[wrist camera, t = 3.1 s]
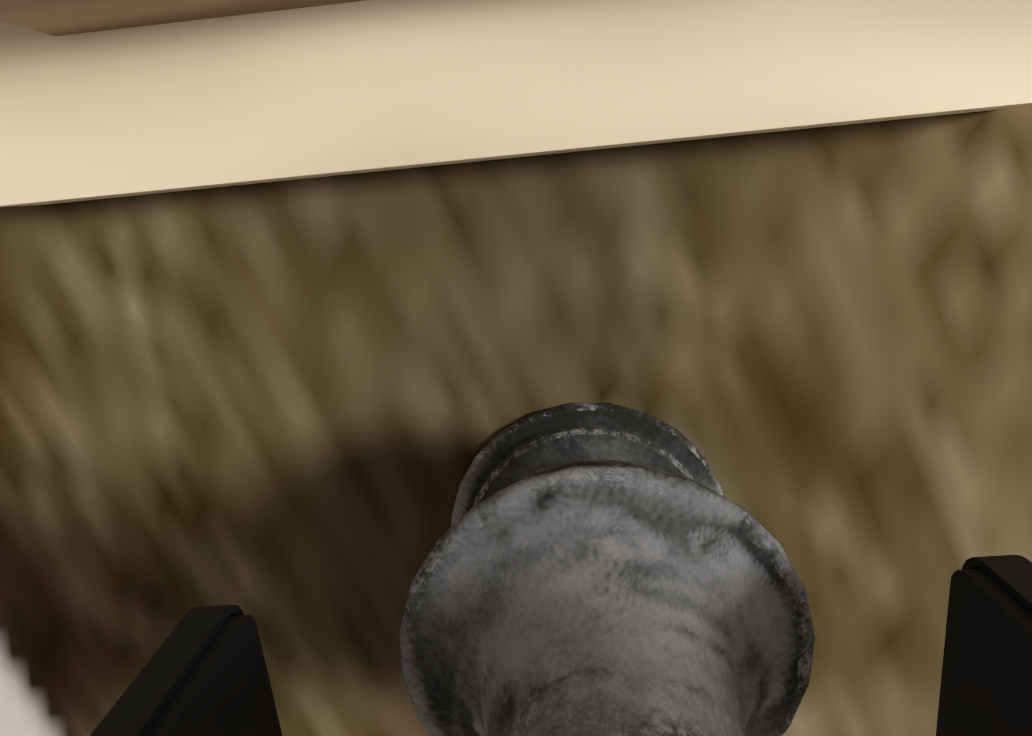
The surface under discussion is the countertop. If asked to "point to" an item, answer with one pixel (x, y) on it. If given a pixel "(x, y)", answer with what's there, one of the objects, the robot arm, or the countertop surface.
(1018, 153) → the countertop surface
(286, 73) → the pin stand
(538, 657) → the weathered chess pawn
